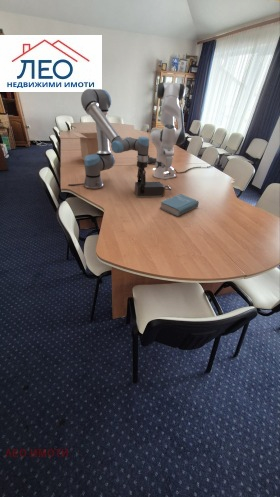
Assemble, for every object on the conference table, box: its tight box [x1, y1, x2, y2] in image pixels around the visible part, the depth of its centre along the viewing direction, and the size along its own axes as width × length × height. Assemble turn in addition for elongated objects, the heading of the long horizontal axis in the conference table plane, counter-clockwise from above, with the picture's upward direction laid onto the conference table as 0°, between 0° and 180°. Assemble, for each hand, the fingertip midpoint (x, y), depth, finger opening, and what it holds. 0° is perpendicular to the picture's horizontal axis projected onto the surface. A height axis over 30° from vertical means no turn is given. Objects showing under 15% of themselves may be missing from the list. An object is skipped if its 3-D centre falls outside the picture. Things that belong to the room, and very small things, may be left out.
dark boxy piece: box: [134, 181, 165, 198], centre depth 172 cm, size 20×11×8 cm, turn 102°
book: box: [159, 193, 200, 217], centre depth 155 cm, size 23×16×5 cm
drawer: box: [161, 182, 172, 196], centre depth 173 cm, size 24×10×6 cm, turn 102°
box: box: [70, 129, 98, 161], centre depth 229 cm, size 44×36×27 cm
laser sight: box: [147, 154, 157, 165], centre depth 240 cm, size 10×22×10 cm, turn 78°
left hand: (140, 190), depth 171 cm, fingers closed on dark boxy piece, 11 cm apart
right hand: (164, 169), depth 168 cm, fingers open, 8 cm apart
